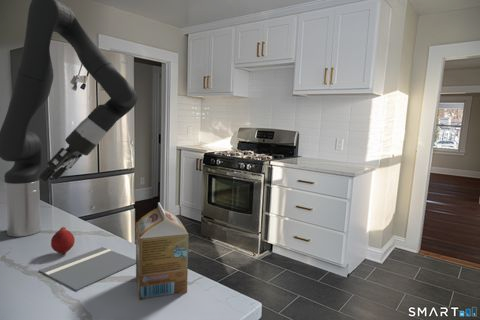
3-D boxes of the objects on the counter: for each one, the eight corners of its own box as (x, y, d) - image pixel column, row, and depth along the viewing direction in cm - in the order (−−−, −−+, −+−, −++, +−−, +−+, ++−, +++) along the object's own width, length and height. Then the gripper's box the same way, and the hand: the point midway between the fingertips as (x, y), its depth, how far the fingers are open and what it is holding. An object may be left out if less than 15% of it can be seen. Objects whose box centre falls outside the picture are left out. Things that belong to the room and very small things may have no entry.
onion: (64, 259, 86) (63, 231, 85) (46, 257, 87) (45, 229, 86) (79, 251, 91) (78, 224, 90) (62, 248, 93) (61, 222, 92)
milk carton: (136, 277, 78) (136, 203, 76) (178, 271, 82) (179, 200, 80) (139, 300, 69) (139, 216, 66) (187, 292, 72) (189, 212, 70)
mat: (38, 271, 79) (38, 269, 79) (102, 248, 94) (102, 246, 94) (76, 291, 71) (76, 289, 71) (139, 262, 86) (139, 260, 86)
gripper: (82, 130, 100) (46, 169, 97) (68, 125, 86) (26, 171, 84) (102, 145, 101) (67, 184, 99) (91, 142, 87) (50, 188, 85)
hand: (48, 178), depth 91 cm, fingers open, 8 cm apart
